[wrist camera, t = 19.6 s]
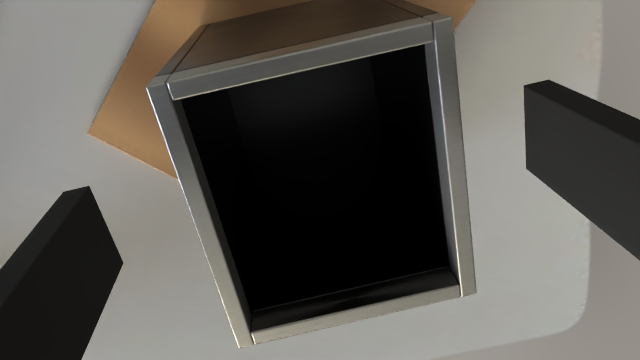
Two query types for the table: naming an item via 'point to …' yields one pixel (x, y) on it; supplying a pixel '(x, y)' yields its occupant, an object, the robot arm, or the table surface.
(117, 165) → the table surface
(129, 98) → the wooden board
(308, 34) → the desk bin
